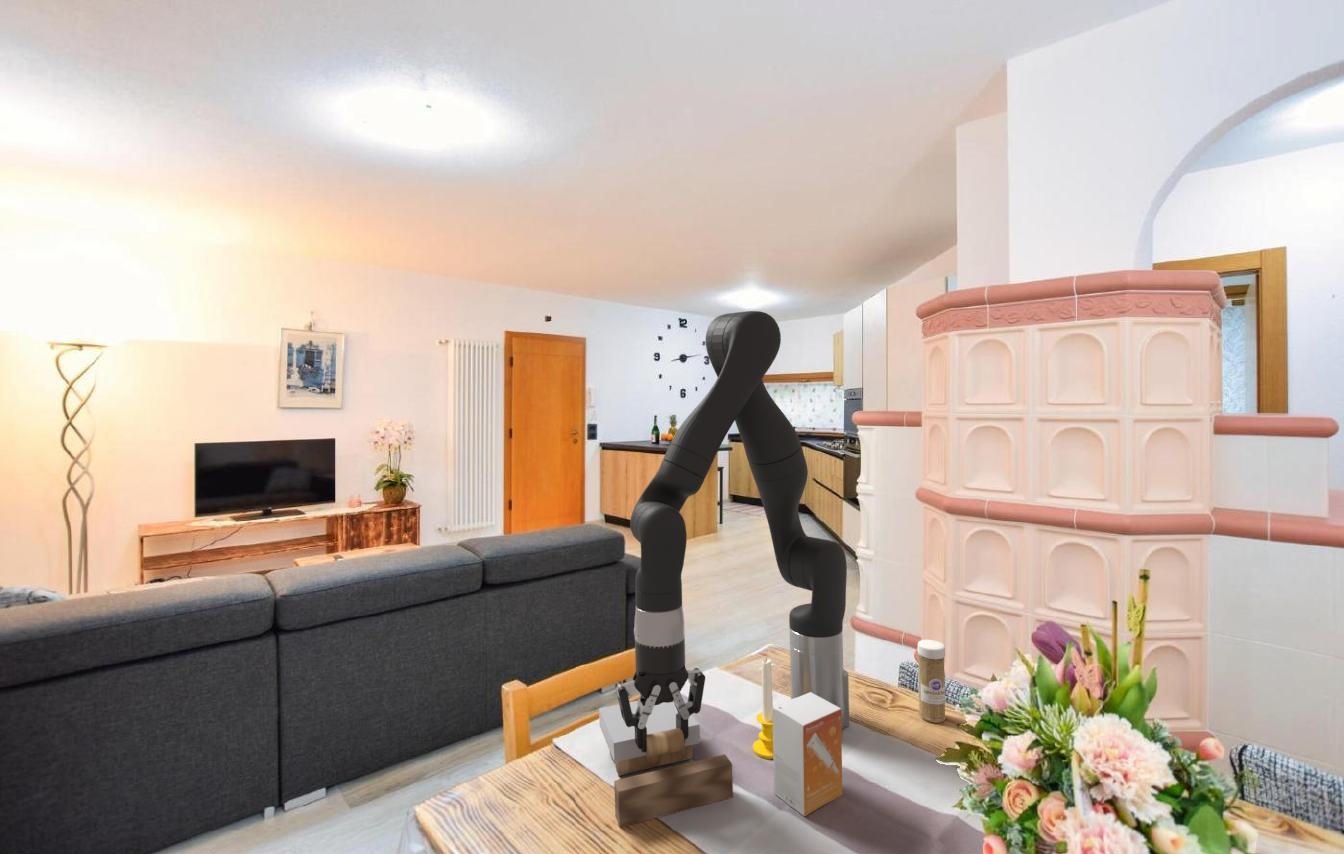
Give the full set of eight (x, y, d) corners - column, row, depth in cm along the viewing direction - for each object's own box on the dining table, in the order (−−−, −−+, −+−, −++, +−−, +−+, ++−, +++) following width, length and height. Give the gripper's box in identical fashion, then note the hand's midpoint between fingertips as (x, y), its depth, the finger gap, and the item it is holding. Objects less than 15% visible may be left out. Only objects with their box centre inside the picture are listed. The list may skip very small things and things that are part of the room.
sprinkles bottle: (928, 725, 102) (927, 650, 101) (913, 712, 106) (912, 640, 106) (951, 721, 103) (950, 647, 102) (935, 709, 107) (934, 637, 107)
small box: (804, 818, 80) (802, 725, 79) (772, 793, 85) (770, 706, 85) (844, 795, 84) (842, 707, 84) (811, 773, 90) (809, 690, 89)
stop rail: (725, 786, 87) (724, 753, 87) (732, 796, 85) (731, 763, 84) (615, 815, 82) (614, 780, 81) (619, 827, 79) (618, 791, 79)
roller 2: (685, 750, 96) (684, 730, 96) (693, 762, 93) (692, 741, 93) (615, 767, 92) (614, 745, 92) (620, 780, 89) (619, 758, 89)
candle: (759, 761, 93) (757, 665, 92) (748, 743, 98) (746, 652, 98) (789, 756, 94) (787, 662, 94) (777, 738, 99) (775, 649, 99)
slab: (677, 709, 103) (676, 692, 103) (699, 742, 93) (699, 724, 92) (599, 725, 98) (598, 708, 98) (614, 762, 88) (613, 743, 88)
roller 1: (676, 732, 89) (680, 724, 88) (682, 753, 87) (686, 744, 86) (642, 740, 88) (645, 731, 86) (647, 761, 86) (650, 752, 84)
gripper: (619, 651, 81) (622, 770, 82) (713, 636, 86) (715, 748, 86) (607, 632, 88) (610, 741, 89) (694, 619, 93) (697, 723, 93)
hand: (662, 744), depth 88 cm, fingers closed on roller 1, 5 cm apart
